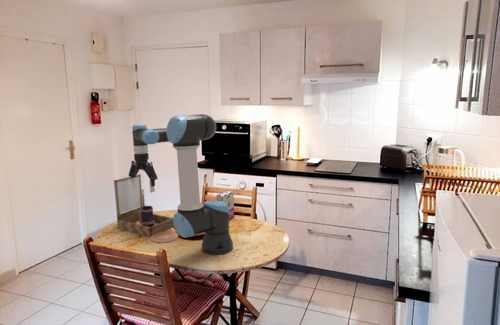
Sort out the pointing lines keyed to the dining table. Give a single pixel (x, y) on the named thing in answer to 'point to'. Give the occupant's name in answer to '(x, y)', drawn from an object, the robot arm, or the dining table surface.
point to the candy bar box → (227, 201)
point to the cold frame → (132, 217)
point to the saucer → (164, 237)
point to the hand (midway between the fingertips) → (143, 190)
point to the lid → (127, 194)
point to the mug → (146, 216)
